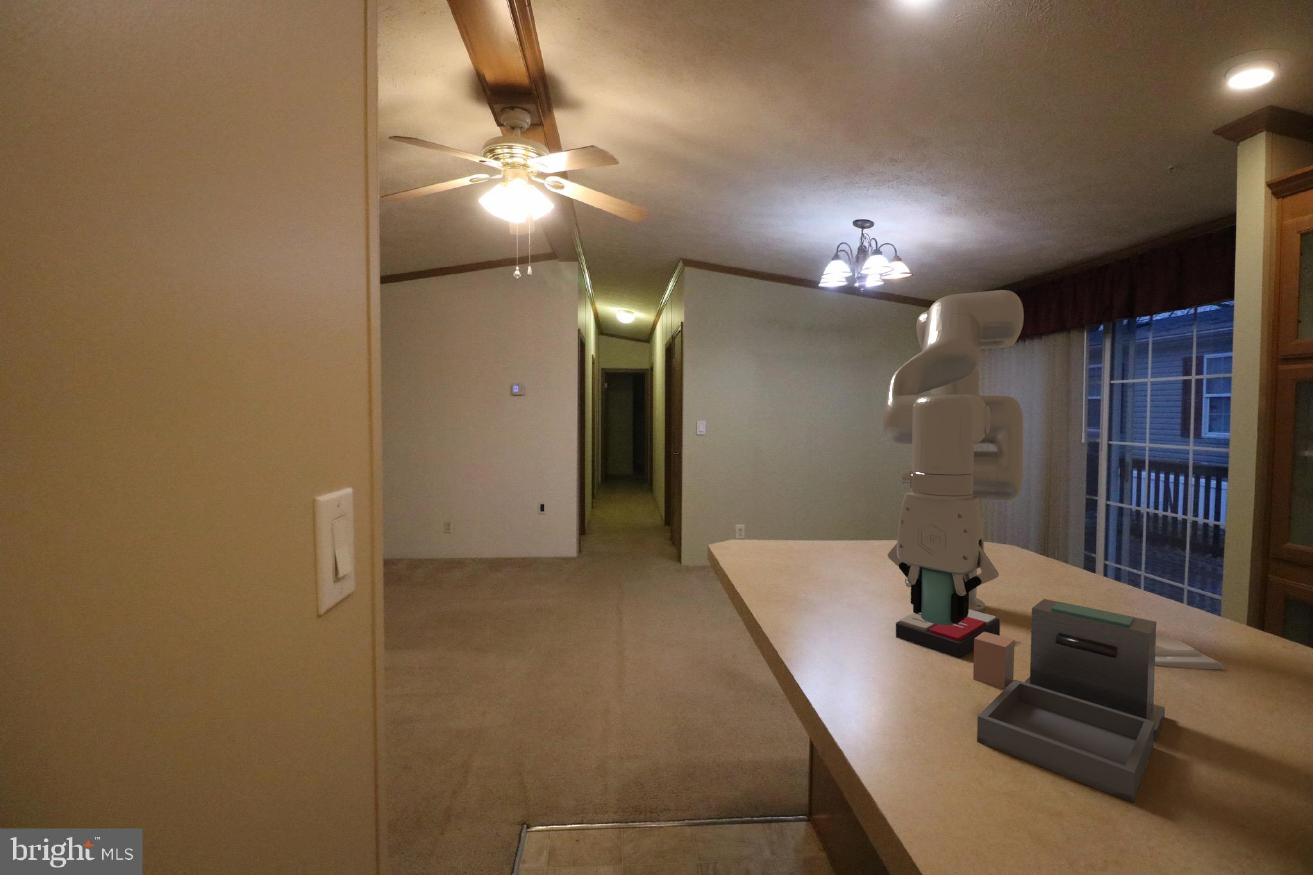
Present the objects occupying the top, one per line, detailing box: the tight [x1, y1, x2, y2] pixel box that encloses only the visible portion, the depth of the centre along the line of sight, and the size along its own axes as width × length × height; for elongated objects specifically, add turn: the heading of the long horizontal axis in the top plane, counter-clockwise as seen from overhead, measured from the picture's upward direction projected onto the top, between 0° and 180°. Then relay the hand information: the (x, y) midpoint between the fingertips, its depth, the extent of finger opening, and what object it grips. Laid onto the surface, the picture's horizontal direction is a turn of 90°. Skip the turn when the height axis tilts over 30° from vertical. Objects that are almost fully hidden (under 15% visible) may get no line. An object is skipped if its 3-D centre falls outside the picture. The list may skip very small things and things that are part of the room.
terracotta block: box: [972, 632, 1015, 690], centre depth 81 cm, size 4×4×6 cm
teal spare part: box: [921, 567, 955, 625], centre depth 77 cm, size 4×4×7 cm
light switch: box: [1155, 635, 1224, 670], centre depth 91 cm, size 11×4×13 cm
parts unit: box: [1024, 598, 1166, 742], centre depth 73 cm, size 14×8×12 cm, turn 42°
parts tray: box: [976, 679, 1155, 804], centre depth 65 cm, size 14×14×3 cm
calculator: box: [895, 609, 1001, 659], centre depth 97 cm, size 11×4×15 cm
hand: (938, 614), depth 77 cm, fingers closed on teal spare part, 4 cm apart
